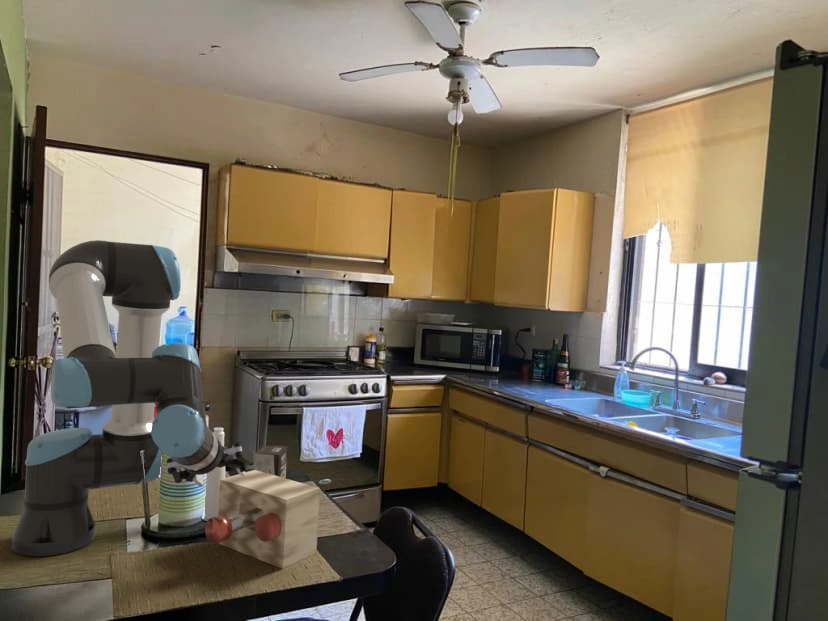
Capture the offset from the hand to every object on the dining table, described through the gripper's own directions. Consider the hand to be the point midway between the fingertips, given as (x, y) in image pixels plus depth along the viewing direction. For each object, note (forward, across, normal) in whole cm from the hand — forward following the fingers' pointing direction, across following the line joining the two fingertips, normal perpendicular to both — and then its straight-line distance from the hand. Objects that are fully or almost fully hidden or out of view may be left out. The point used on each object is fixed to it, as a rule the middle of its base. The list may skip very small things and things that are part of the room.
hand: (222, 474), depth 125 cm
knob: (+1, +2, -13) cm, 13 cm away
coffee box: (+28, +5, -6) cm, 29 cm away
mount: (+8, +5, -16) cm, 19 cm away
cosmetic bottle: (+24, -7, -4) cm, 25 cm away
